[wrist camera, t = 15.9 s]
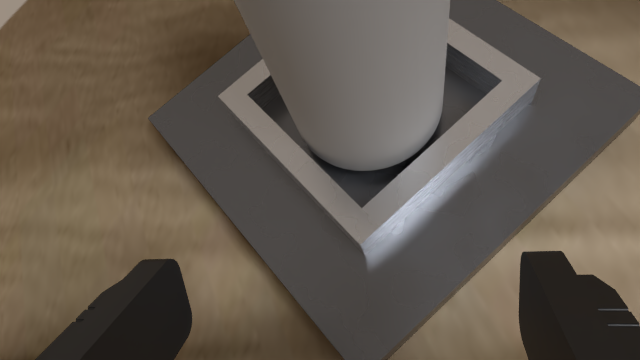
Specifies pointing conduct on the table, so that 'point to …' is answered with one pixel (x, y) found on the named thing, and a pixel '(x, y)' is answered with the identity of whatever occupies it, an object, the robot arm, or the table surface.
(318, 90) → the beverage can
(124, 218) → the table surface
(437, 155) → the mounting plate
